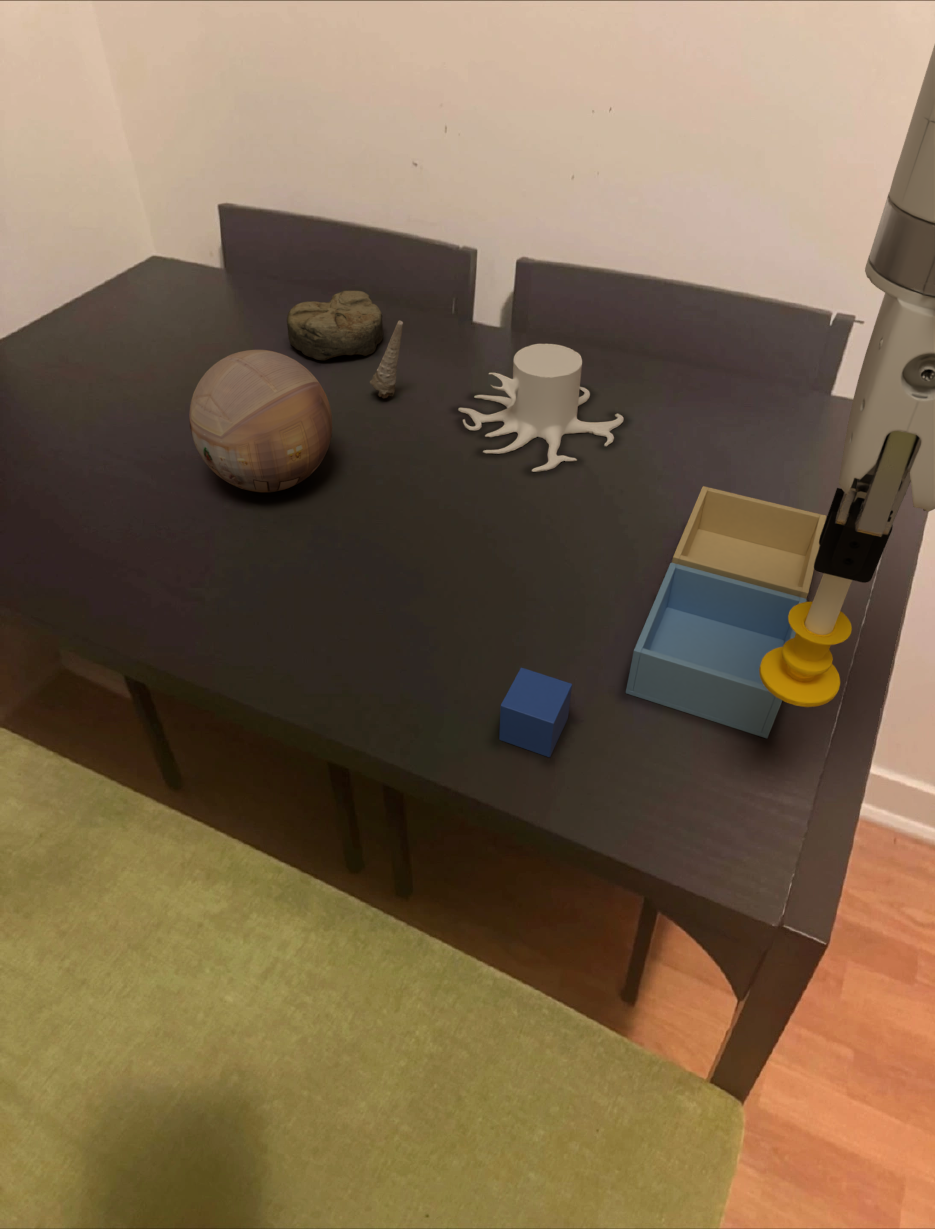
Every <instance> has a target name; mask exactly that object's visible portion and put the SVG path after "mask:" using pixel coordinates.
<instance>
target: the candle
mask: <svg viewBox="0 0 935 1229" xmlns="http://www.w3.org/2000/svg"><path fill="white" fill-rule="evenodd" d="M866 494H867V493H865V492H861V491H860V492H857V495H856V497H855V500H856V499H857V497H859V498H864V499H865V497H866ZM855 500H854V501H855ZM852 583H853V580H850V579H845V578H841V577H837V576H833V575H829V574H825V573H822V577H821V579H820V582H819V584H818V586H817V589H816V591H815V594H814V597H813V599H812V601H806V602H803V603H799V604H797V605H796V606H794V607H793V608H792V609H791V610H790V612H789V615H788V622H789V624H790V626H791V628H792V629H793V630H794V631H795V633H796V634H795V638H792V639H790V640H788V641H786V643H785V644H784V645H783V646H782V647H779V648H775V649H773V650H771V651H770V652H768V653H767V654H766V655H765V656H764V657H763V658H762V661H761V664H760V668H759V674H760V678H761V680H762V683H763V684H764V686H765V687H766V688H767V689H768V691H769V692H771V693H772V694H773V695H774V696H776V697H777V698H779V699H781V700H782V702H785V703H787V704H790V705H793V706H795V707H796V706H797V707H802V708H803V707H804V708H812V707H813V708H815V707H820V706H823V705H826V704H828V703H829V702H831V701H833V700H834V698H835V697H836V696H837V694H838V692H839V690H840V686H841V678H840V673H839V672H838V670H837V668H836V666H835V665H834V664H833V660H834V656H833V654H832V652H831V650H830V649H831V646H835V645H837V644H842V643H844V642H845V641H846V640H848V639H849V638H850V636H851V634H852V630H853V628H852V623H851V620H850V619H849V617H848V616H847V614H845V613H844V612H843V611H841V610H842V609H843V608H842V607H843V605H844V603H845V600H846V597H847V594H848V592H849V590H850V588H851V584H852Z"/></svg>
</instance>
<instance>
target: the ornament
mask: <svg viewBox="0 0 935 1229" xmlns="http://www.w3.org/2000/svg"><path fill="white" fill-rule="evenodd" d="M188 414H189V416H188V417H189V418H188V419H189V429H190V430H189V431H190V435H191V437H192V441H193V444H194V447H195V448H196V451H197V453H198V454H199V456H200V458H201V459H202V461H203V462H204V463H205V464H206V466H207V467H208V468H209V469H210V470H211V471H212V472H213V473H214V474H215V475H216V476H218V477H219V478H220V479H222V480H223V481H224V482H226V483H228V484H230V485H232V486H234V487H236V488H239V489H242V490H246V491H250V492H254V493H274V492H279V491H284V490H286V489H287V490H288V489H289V488H292V487H295V486H296V485H299V484H300V483H301V482H303V481H305V480H307V479H308V478H309V477H310V476H311V475H312V474H313V473H314V472H315V471H316V470H317V469H318V467H319V466H320V464H321V463H322V462H323V460H324V459H325V456H326V454H327V452H328V450H329V448H330V443H331V440H332V435H333V434H332V432H333V415H332V409H331V405H330V402H329V400H328V396H327V393H326V392H325V391H324V388H323V387H322V385H321V383H320V382H319V381H318V379H317V378H316V376H315V375H314V374H313V373H312V372H311V371H310V370H309V369H308V368H306V367H305V366H304V365H303V364H301V363H300V362H299V361H297V360H296V359H294V358H293V357H290V356H288V355H286V354H283V353H280V352H278V351H277V352H276V351H274V350H273V351H272V350H266V349H248V350H243V351H238V352H235V353H232V354H229V355H227V356H225V357H223V358H221V359H220V360H218V361H217V362H215V363H214V364H213V365H212V366H211V367H210V368H209V369H208V370H207V371H205V373H204V374H203V376H202V377H201V378H200V380H199V381H198V383H197V385H196V387H195V389H194V391H193V394H192V397H191V400H190V405H189V412H188Z"/></svg>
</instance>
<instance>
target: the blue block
mask: <svg viewBox="0 0 935 1229" xmlns="http://www.w3.org/2000/svg"><path fill="white" fill-rule="evenodd" d="M572 689H573V683H571V682H568V681H566V680H565V681H564V680H561V679H558V678H555V677H552V676H549V675H546V674H543V673H540V672H537V671H534V670H531V669H527V668H525V667H520V668H519V670H518V672H517V673H516V676H515V678H514V679H513V681H512V684H511V685H510V687H509V689H508V691H507V693H506V694H505V695H504V698H503V700H502V702H501V704H500V713H499V733H498V734H499V737H498V739H499V741H502V742H504V743H507V744H510V745H512V746H516V747H518V748H521V749H525V750H527V751H530V752H532V753H536V754H537V755H541V756H545V757H547V758H551V756H552V755H553V752H554V749H555V748H556V745H557V743H558V741H559V740H560V737H561V735H562V732H563V730H564V728H565V726H566V724H567V722H568V719H569V713H570V705H571V698H572V697H571V696H572V691H573V690H572Z"/></svg>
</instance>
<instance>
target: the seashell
mask: <svg viewBox="0 0 935 1229" xmlns="http://www.w3.org/2000/svg"><path fill="white" fill-rule="evenodd" d="M403 327H404V321H402V320H397V323H396V325H395V328H394V330H393V332H392V335H391V337H390V340H389V341H388V344H387V347H386V348H385V352H384V354H383V356H382V359H381V361H380V363H379V366H378V367H377V368H376V370H375V371H376V372H375V373H374V374H373V376H372V378H371V379H370V380H369V384H370V385H371V386H372V387H373V389H375V390H376V391H378V394H377V396H378V397H379V398H382V399H387V398H388V397H393V396H394V394H395V391H396V383H397V381H396V380H397V370H398V362H399V354H400V347H401V342H402V340H401V339H402V336H403V335H402V334H403Z"/></svg>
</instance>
